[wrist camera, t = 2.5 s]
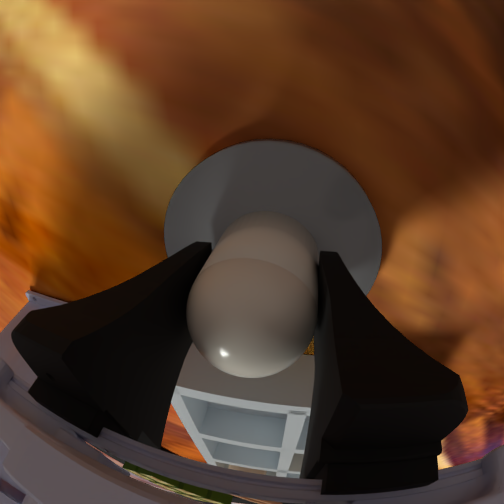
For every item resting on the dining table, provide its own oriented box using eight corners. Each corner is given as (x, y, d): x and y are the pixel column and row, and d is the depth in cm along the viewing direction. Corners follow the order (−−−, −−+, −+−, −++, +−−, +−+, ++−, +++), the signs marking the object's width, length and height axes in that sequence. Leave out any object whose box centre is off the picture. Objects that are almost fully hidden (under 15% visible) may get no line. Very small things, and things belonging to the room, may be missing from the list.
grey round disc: (189, 310, 15) (183, 322, 14) (161, 142, 11) (149, 147, 10) (356, 328, 14) (357, 342, 13) (391, 148, 9) (399, 153, 8)
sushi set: (307, 500, 47) (305, 515, 44) (193, 491, 68) (190, 501, 65) (152, 437, 34) (142, 459, 31) (77, 429, 55) (71, 441, 52)
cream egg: (223, 292, 13) (181, 387, 8) (215, 208, 11) (147, 296, 6) (313, 300, 12) (305, 408, 8) (323, 214, 10) (326, 318, 6)
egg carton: (221, 450, 28) (214, 473, 25) (182, 337, 17) (159, 381, 14) (344, 463, 25) (342, 487, 22) (423, 358, 14) (432, 406, 11)
